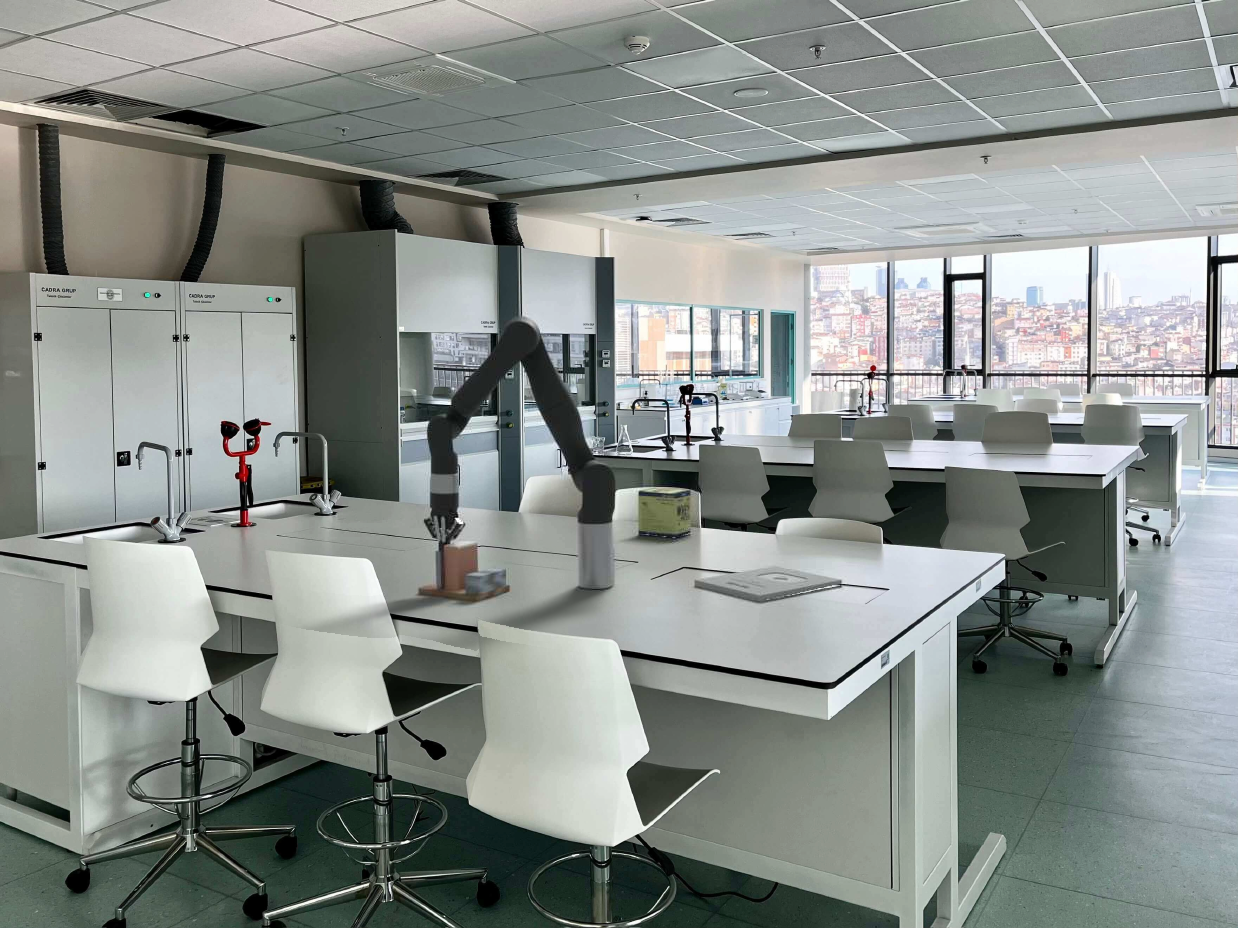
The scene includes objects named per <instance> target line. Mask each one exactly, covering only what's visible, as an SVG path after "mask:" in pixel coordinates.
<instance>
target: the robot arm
mask: <svg viewBox="0 0 1238 928" xmlns="http://www.w3.org/2000/svg"><path fill="white" fill-rule="evenodd" d="M541 333H542V332H541V330H540V328H539V326H538V324H537V323H536V322H535V321H534V320H533V319H532V318H530V317H527V316H523V315H521V316H520V315H519V316H516V317H513V318H512V319H510V320H509V321H508V322H507V324H506V325H505V326H504V328H503V331H502V334H501V335H500V337H499V340H498V341H497V343H496V345H495V346H494V348H493V349H492V351H491V353H490V354H489V355H488V357H487V358H485V360H484V361H483V362H482V364H481V365H480V366H478V368H476V370H474V372H473V373H471V375H470V376H469V377H467V379H466V380H465V382H463V384H462V385H461V386H460V387H459V388H458V389H457V391H456V392H455V393H454V395H453V396H452V397H451V400H450V405H449V406H448V407H447V409H446V410H445V411H444V413H442V414H437V415H436V414H435V416H432V417H431V418H430V420H429V421H428V424H427V427H426V437H427V438H426V440H427V445H428V449H429V453H430V479H429V508H430V509H431V511H430V515H429V516H428V517H427V518H424V519H423V524H424V525H425V526H426V528H427V530H428V532H429V534H430V536H431V537H432V539H433V540H434V539H435V540H437V542H438V550H443V549H444V545H448V544H451V541H454V540H456V539H458V537H459V535H460V534H461V533H462V531H463V529H465V526H466V522H465V521H461V519H459V513H458V509H459V506H460V480H459V456H458V453H457V452H456V451H454V443H453V441H454V440H455V439H457V437H459V436H460V435H461V434H462V432H463V431H464V429H465V428H466V427H467V426H468V424H469V422H470V420H471V419H472V417H473V415H474V414H475V413H476V412H477V411H478V409H479V408H480V407H481V406H482V405H483V404H484V402H485V401H486V400H487V399H488V398H489V396H490V395H491V394H492V393H493V391H494V390H495V388H496V387H497V386H498V384H499V383H500V382H501V381H502V379H503V378H504V377H505V376H506V374H508V373H509V372H510V371H511V370H512V369H513V368H514V366H516V365H517V364H518V363H519V362H520V364H521V365H522V367H523V369H524V371H525V374H526V376H527V379H528V382H529V385H530V386H529V387H530V390H531V392H532V395H533V399H534V401H535V404H536V407H537V410H538V411H539V412H540V413H539V414H540V415H541V418H542V419H543V421H544V423H545V425H546V427H547V428H548V430H549V432H550V434H551V435H552V438H553V439H554V441H555V443H556V445H557V447H558V449H560V451H561V454H562V456H563V458H564V461H565V463H566V466H567V468H568V471H569V474H570V476H571V479H572V482H573V484H574V486H575V488H576V489H577V490H578V491H579V492H581V493H582V497H581V498H582V500H581V507H580V509H579V511H578V512H577V557H578V558H577V559H578V560H577V561H578V562H577V563H578V567H577V568H578V569H577V570H578V587H579V588H581V589H582V588H583V589H591V590H599V589H600V590H601V589H607V588H612V587H613V586H614V584H615V549H614V548H613V547H614V542H613V539H614V537H613V536H614V533H613V532H614V531H613V516H614V514H615V509H616V476H615V472H614V470H613V469H612V468H611V467H610V465H608V464H607V463H604V462H601V461H598V459H597V458H596V457H595V456H594V453H593V452H592V450H591V448H590V447H589V445H588V443H587V441H586V437H585V433H584V427H583V422H582V418H581V414H580V412H579V409H578V407H577V405H576V403H575V400H574V398H573V396H572V394H571V393H570V391H569V388H568V387H567V385H566V383H565V382H564V380H563V378H562V377H561V374H560V373H559V372H558V370H557V368H556V367H555V365H554V363H553V362H552V361H553V360H552V359H551V356H550V355H549V353H548V350H547V347H546V345H545V341H544V340H543V336H542V334H541Z"/></svg>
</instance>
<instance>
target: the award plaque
mask: <svg viewBox="0 0 1238 928" xmlns="http://www.w3.org/2000/svg"><path fill="white" fill-rule="evenodd" d="M841 583H842V584H843V580H842V579H839V578H836V577H835V578H834V577H829V576H826V575H821V574H815V573H811V572H806V571H801V570H797V569H791V568H786V567H782V566H776V565H773V566H767V567H762V568H755V569H752V570H751V569H749V570H744V571H737V572H732V573H725V574H722V575H715V576H710V577H704V578H698V579H694V587H696V588H701V589H705V590H709V591H713V592H716V591H717V593H720V592H721V594H725V595H729V596H732V595H733V597H737V598H741V597H742V598H741V599H745V598H747V599H746V600H749V599H753V600H755V601H754V602H757V601H764V600H767V599H773V598H777V597H782V596H787V595H792V594H797V593H800V592H805V591H809V590H814V589H818V588H824V587H827V586H832V585H837V584H841ZM753 600H752V601H753ZM764 602H765V601H764Z"/></svg>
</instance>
